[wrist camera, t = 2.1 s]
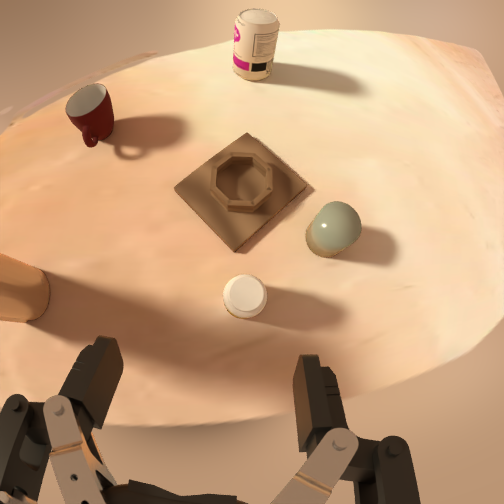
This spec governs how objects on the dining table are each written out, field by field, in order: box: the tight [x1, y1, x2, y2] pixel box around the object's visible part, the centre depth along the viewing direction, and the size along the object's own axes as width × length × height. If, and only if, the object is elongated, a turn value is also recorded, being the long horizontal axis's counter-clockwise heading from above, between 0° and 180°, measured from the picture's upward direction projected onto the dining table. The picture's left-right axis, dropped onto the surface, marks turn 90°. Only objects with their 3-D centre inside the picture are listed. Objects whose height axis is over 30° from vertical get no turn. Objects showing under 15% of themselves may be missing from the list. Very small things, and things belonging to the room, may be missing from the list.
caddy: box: [174, 133, 307, 252], centre depth 44 cm, size 16×14×4 cm
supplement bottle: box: [223, 274, 267, 319], centre depth 37 cm, size 5×5×10 cm
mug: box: [66, 84, 114, 147], centre depth 42 cm, size 11×8×10 cm
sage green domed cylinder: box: [306, 201, 361, 258], centre depth 42 cm, size 6×6×7 cm
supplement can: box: [233, 9, 280, 81], centre depth 46 cm, size 8×8×15 cm
